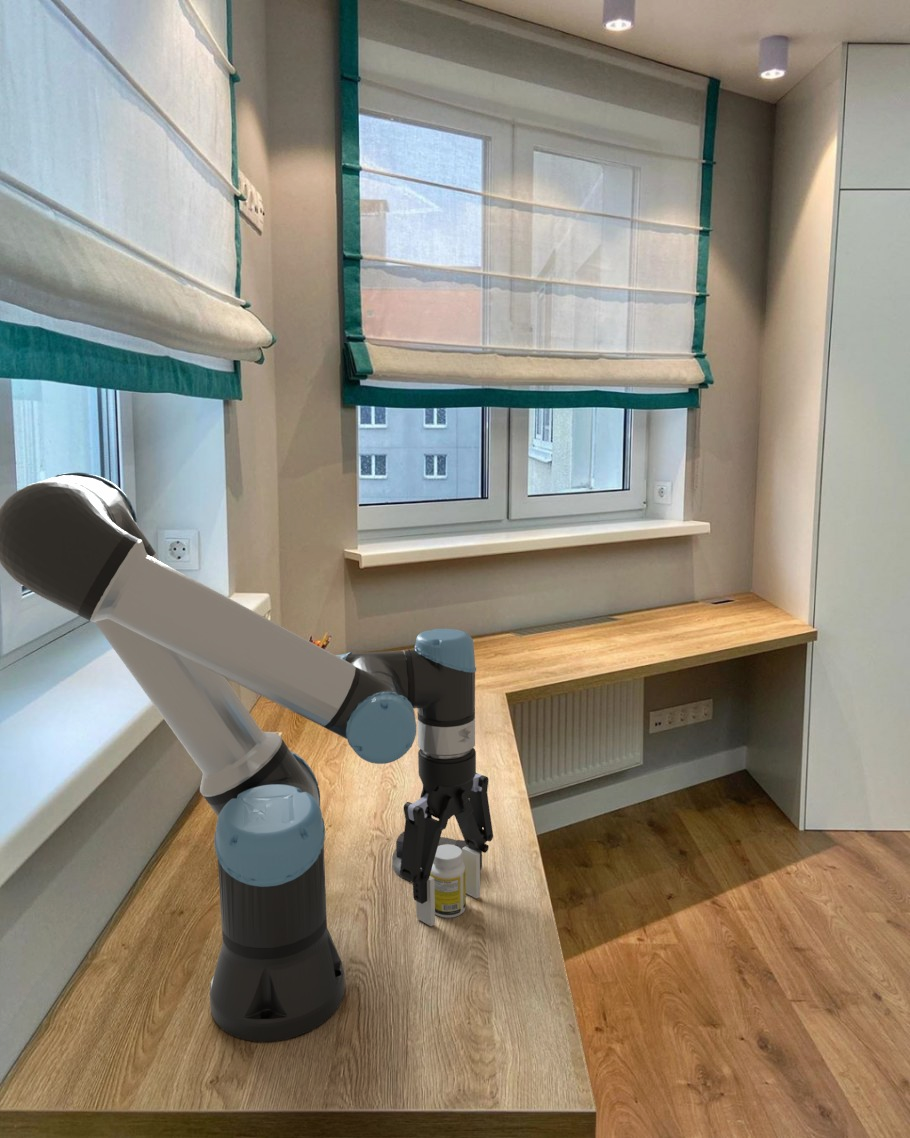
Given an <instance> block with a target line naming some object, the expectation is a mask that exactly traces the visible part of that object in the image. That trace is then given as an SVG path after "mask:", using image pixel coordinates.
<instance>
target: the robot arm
mask: <svg viewBox="0 0 910 1138" xmlns="http://www.w3.org/2000/svg"><path fill="white" fill-rule="evenodd" d="M157 558H158V554H157V553H156V551H155V549H154V547H152V545H151V543H150V542H149V540H148V539H147V537H146V536H145V534H144V533H143V531H142V530H141V528H140V527H139V526H138V520H137V514H136V511H135V509H134V506H133V504H132V502H131V500H130V499H129V497H128V496H127V495H126V493H125V492H124V491H123V490H122V489H121V488H120V487H119V486H118V485H117V484H115V483H113V482H112V481H110V480H108V479H106V478H104V477H102V476H98V475H95V474H90V473H87V472H78V471H77V472H66V473H60V474H57V475H55V476H52V477H50V478H47V479H45V480H43V481H37V482H33V483H30V484H28V485H26V486H22V487H21V488H20V489H17V491H15V493H13V494H12V495H10V496H9V497H8V498H7V499H6V501H5V502H4V503H3V504H2V505H1V507H0V564H1V566H2V567H3V569H4V570H5V571H6V573H7V574H9V576H10V577H12V579H14V580H15V582H17V583H19V584H20V585H22V586H23V587H24V588H25V589H28V591H31V592H32V593H34V594H36V595H38V596H40V597H41V598H43V599H45V600H47V601H49V602H52V603H53V604H55V605H57V606H59V607H62V608H63V609H65V610H68V611H69V612H71V613H73V614H76V615H78V616H79V617H81V618H83V619H85V620H87V621H89V622H92V623H94V624H95V625H96V627H98V629H99V630H100V631H101V633H102V635H103V636H104V637H105V639H106V640H107V641H108V643H109V645H110V646H111V647H112V649H113V650H114V651H115V653H116V654H117V656H118V657H119V658H120V660H121V662H123V664H124V666H125V667H126V668H127V670H128V671H129V672H130V673H131V675H132V676H133V677H134V680H135V681H136V682H137V683H138V685H139V686H140V688H141V689H142V691H143V692H144V694H145V695H146V696H147V697H148V699H149V700H150V702H151V703H152V704H153V706H154V707H155V708H156V710H157V712H158V713H159V714H160V715H161V717H162V718H163V719H164V722H166V724H167V725H168V727H169V728H170V729H171V731H172V732H173V734H174V736H175V737H176V738H177V739H178V741H179V742H180V743H181V745H182V747H183V748H184V749H185V751H186V752H187V753H188V755H189V756H190V757H191V759H192V760H193V762H194V763H195V765H196V766H197V767H198V769H199V770H200V771H201V774H202V776H201V777H202V778H201V782H200V786H199V792H200V794H201V795H202V797H203V798H204V800H205V801H206V802H207V803H208V805H209V807H210V808H211V809H212V810H213V812H214V814H216V816H217V819H216V826H215V832H214V841H213V842H214V851H215V853H216V858H217V867H218V868H217V870H218V883H219V884H218V885H219V900H220V919H221V922H220V923H221V932H222V942H221V948H220V952H219V953H218V958H217V962H216V965H215V968H214V969H215V970H214V974H213V976H212V979H211V981H210V986H209V987H210V988H209V997H210V998H209V999H210V1000H209V1001H210V1011H211V1016H212V1018H213V1021H214V1022H215V1023H216V1025H217V1026H218V1027H219V1028H220V1029H221V1030H223V1031H224V1032H225V1033H227V1034H229V1035H230V1036H233V1037H235V1038H238V1039H241V1040H245V1041H250V1042H251V1041H252V1042H263V1043H264V1042H277V1041H283V1040H284V1041H285V1040H289V1039H291V1038H295V1037H298V1036H301V1035H304V1034H306V1033H308V1032H310V1031H313V1030H315V1029H316V1028H318V1027H319V1026H321V1025H322V1024H324V1023H325V1022H327V1020H329V1019H330V1018H331V1017H333V1015H334V1014H335V1013H336V1011H338V1008H339V1007H340V1006H341V1003H342V1002H343V999H344V996H345V985H346V984H345V971H344V966H343V962H342V960H341V957H340V955H339V953H338V951H337V948H336V945H335V943H334V940H333V939H332V936H331V933H330V930H329V928H328V921H327V920H328V919H327V899H326V898H327V897H326V896H327V894H326V867H325V865H326V864H325V844H324V843H325V840H326V839H325V837H326V827H325V821H324V818H323V813H322V809H321V792H320V788H319V783H318V780H317V778H316V775H315V773H314V772H313V770H312V769H311V766H309V764H308V763H307V762H306V761H305V760H304V758H302V757H301V756H300V755H298V754H297V753H296V752H293V751H291V750H290V749H289V746H288V745H287V744H286V742H285V741H284V740H283V738H282V736H281V735H279V734H278V733H277V732H269V731H263V730H262V729H261V728H260V726H259V725H258V724H257V722H256V720H255V719H254V717H253V716H252V715H251V713H250V712H249V710H248V709H247V707H246V706H245V704H244V703H243V702H242V700H241V699H240V697H239V696H238V694H237V693H236V691H235V689H234V688H233V687H232V686H231V684H230V683H229V681H232V682H233V683H235V684H238V685H239V686H241V687H244V688H246V689H247V690H249V691H251V692H253V693H255V694H257V695H259V696H260V697H263V698H265V699H267V700H269V701H271V702H273V703H275V704H277V705H279V706H281V707H283V708H285V709H287V710H289V711H291V712H293V713H294V714H297V715H299V716H301V717H303V718H304V719H307V720H309V721H310V722H313V723H315V724H317V725H318V726H320V727H322V728H325V729H326V730H329V731H330V732H332V733H334V734H336V735H337V736H340V737H342V738H344V739H345V740H347V743H348V745H349V746H350V748H351V749H352V750H353V751H354V753H355V754H356V755H357V756H358V757H359V758H361V759H362V760H363V761H366V762H367V763H371V764H376V765H377V764H378V765H382V764H383V765H385V764H389V763H390V764H391V763H393V762H395V761H397V760H399V759H401V758H402V757H403V756H404V755H406V754H407V752H408V751H409V750H410V749H411V748H412V747H413V744H414V741H415V740H416V736H417V747H418V748H419V750H418V752H417V753H418V754H417V756H418V757H417V759H418V763H417V765H418V776H419V779H420V781H421V783H422V791H421V793H420V796H419V797H420V798H419V799H417V800H416V801H415V802H413V803H411V802H410V801H407V802H405V803H404V805H403V812H404V819H405V822H404V831H403V832H404V839H403V848H402V857H401V867H400V875H401V876H403V877H404V878H406V879H408V880H410V881H412V882H411V883H412V891H413V892H412V893H413V894H412V897H413V900H414V901H416V902H415V904H416V919H417V920H419V921H421V922H422V923H425V924H426V925H428V926H430V927H433V926H434V925H436V914H435V885H434V878H433V877H431V876H430V873H431V869H432V866H433V862H434V858H435V855H436V851H437V848H438V844H439V840H440V837H442V836H441V835H442V832H443V830H445V829H446V828H447V826H448V821H449V820H450V819H451V818H452V817H453V816H454V817H455V820H456V822H457V825H458V827H459V830H460V832H461V835H462V837H463V839H464V840H465V842H466V844H467V845H469V848H468V847H466V846H465V847H463V848H462V862H463V863H464V865H465V885H466V894H467V895H468V896H470V897H473V898H474V899H478V898H480V897H481V871H482V868H483V853H487V852H488V851H489V847H490V846H489V845H488V844H487V842H491V841H492V840H493V838H494V832H493V826H492V824H493V823H492V818H491V811H490V802H489V797H488V788H489V777H488V776H486V775H483V774H480V773H477V757H476V756H477V754H476V753H477V751H476V749H475V746H476V672H477V667H476V658H475V647H474V639H473V638H472V637H471V635H470V634H469V633H467V632H466V631H463V630H460V629H455V628H434V629H432V630H425V631H421V632H420V633H419V634H418V635H417V636H416V639H415V644H414V648H411V649H410V648H409V649H406V650H405V649H402V650H390V651H389V650H388V651H387V650H386V651H373V652H372V651H371V652H351V651H349V652H346V653H343V654H334V653H332V652H331V651H328V650H326V649H325V648H323V647H321V646H319V645H318V644H315V643H313V642H311V641H310V640H308V639H306V638H304V637H302V636H300V635H299V634H296V633H295V632H293V631H291V630H289V629H287V628H286V627H283V626H281V625H280V624H278V623H275V622H274V621H273V620H271V619H268V618H267V617H265V616H263V615H261V614H260V613H257V612H256V611H254V610H252V609H249V608H248V607H246V606H244V605H242V604H241V603H239V602H236V601H234V600H233V599H231V598H229V597H227V596H225V595H224V594H221V593H220V592H218V591H216V590H214V589H212V588H211V587H209V586H207V585H205V584H203V583H201V582H200V581H197V580H196V579H194V578H192V577H190V576H188V575H186V574H184V573H183V572H181V571H178V570H177V569H175V568H173V567H171V566H169V565H167V564H165V563H164V562H162V561H160V560H158V559H157ZM228 680H229V681H228ZM415 709H416V710H417V722H416V713H415ZM421 868H422V869H421ZM410 881H409V882H410Z"/></svg>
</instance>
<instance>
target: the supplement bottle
mask: <svg viewBox="0 0 910 1138" xmlns="http://www.w3.org/2000/svg"><path fill="white" fill-rule="evenodd" d="M430 876H431V877H433V878H434V885H435V916H437V917H441V918H444V919H445V918H446V919H450V918H451V919H452V918H456V917H459V916H460V915H462V914H463V913H464V912H465V911H466V907H467V898H466V897H467V895H466V885H465V865H464V863H463V862H462V850H461V849H460V848H459V847H458V846H455V845H450V844H446V845H440V846H438V848H437V851H436V855H435V858H434V862H433V866H432V869H431V873H430Z"/></svg>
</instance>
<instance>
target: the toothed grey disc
mask: <svg viewBox="0 0 910 1138" xmlns="http://www.w3.org/2000/svg"><path fill="white" fill-rule="evenodd" d="M403 839H404V831H403V832H401V833H400V834H399V835H398V837H397V839H396V841H395V843H396V846H395V847H396V848H395V850H394V852H393V854H392V858H391V859H392V869H393V871H394V873H395V874H397V876H398V877H400V878H401V879H403V880H405V881H407V882H411V883H413V882H412V881H410V880H408V879H406V878H404V877H403V876H401V875H400V867H401V857H402V848H403ZM446 844H450V845H455V846H458V847H459V848H460V849H461V850H462V848H463V847H465V846H466V847H468V848H469V845H467V844H466V842H465V840H463V839H453V838H449V837H442V836H441V837H440V840H439V844H438V846H440V845H446ZM421 869H422V868H421Z"/></svg>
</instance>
